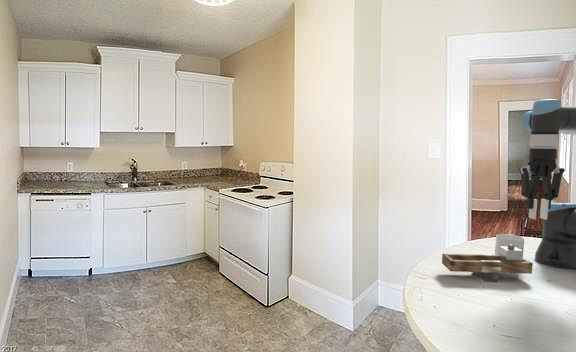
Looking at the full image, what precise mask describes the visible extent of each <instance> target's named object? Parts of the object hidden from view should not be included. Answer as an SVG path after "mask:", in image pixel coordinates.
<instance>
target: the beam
mask: <svg viewBox="0 0 576 352" xmlns="http://www.w3.org/2000/svg"><path fill="white" fill-rule="evenodd" d="M441 264H442V265H443V266H444V267H445V268H446V269H447V270H448V271H450V272H453V273H454V272H459V273H461V272H462V273H463V272H465V273H473V274H475V275H476V276H477V277H478V278H480V279H481V280H482V281H483V282H484V283H486V282H487V283H498V280H499V274H525V275H526V274H527V275H528V274H529V275H531V274H533V264H534V263H533V262H531V261H530V260H528V259H525V258H524V257H523V258H522V262H509V261H499V255H495V254H490V253H486V254H485V253H471V254H470V253H469V254H468V253H466V254H464V253H442V257H441Z"/></svg>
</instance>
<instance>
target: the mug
mask: <svg viewBox="0 0 576 352" xmlns="http://www.w3.org/2000/svg"><path fill="white" fill-rule="evenodd" d="M508 244H512V245H515V247H516V248H518V249H520V250H522V258H524V249H525V238H524V237H522V236H519V235H518V234H517V235H516V234H510V233H497V234H496V235H495V248H494V249H495V250H494V255H499V253H500V246H501V247H508Z"/></svg>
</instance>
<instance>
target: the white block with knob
mask: <svg viewBox="0 0 576 352" xmlns="http://www.w3.org/2000/svg"><path fill="white" fill-rule="evenodd" d="M499 261H509V262H522V250H520V249H518V248H516V247H515V245H512V244H508V247H501V246H500V253H499Z"/></svg>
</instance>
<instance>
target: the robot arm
mask: <svg viewBox="0 0 576 352" xmlns="http://www.w3.org/2000/svg"><path fill="white" fill-rule="evenodd" d="M520 120H521V121H520V123H521V127H522V128H523V130H526V131H529V132H530V139H529V147H531V148H530V149H529V152H528V163H527V165H526V166H523V167H519V168H518V170H519V173H520V174H521V175H520V182H521V184H520V185H521V186H520V187H521V188H520V189H521V196H522V197H525V198H526V199H527V203H526V208H527V209H528V219H532V220H536V219H537V209H538V208H537V207H538V199H536V195H537V191H538V187H539V182H540V180H541V179H542V188H543V189H542V190H543V198H541V200H540V210H539V218H540V219H542V231H541V232H542V234H541V240H540V243H539V245H538V247H537V249H536V251H535V253H534V260H536V261H537V262H538V263H539V262H540V263H541V264H543V265H547V266H551V267H556V268H562V269H572V270H573V269H576V202H552V201H553V200H554V199H558V197H559V193H560V187H561V184H562V183H561V182H562V177H563V174H564V172H565V168H563V167H562V168H561V167H559V166H557V162H556V160H557V159H558V149H557V148H558V147H559V135H560V134H565V135H573V136H576V106H562V101H561V100H560V99H555V98H553V99H552V98H549V99H538V100H535V101H534V102H533V105H532V110H529V111H527V112H525V113H524V114H523V115H522V116H521V119H520ZM552 173H553V174H552Z"/></svg>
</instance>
